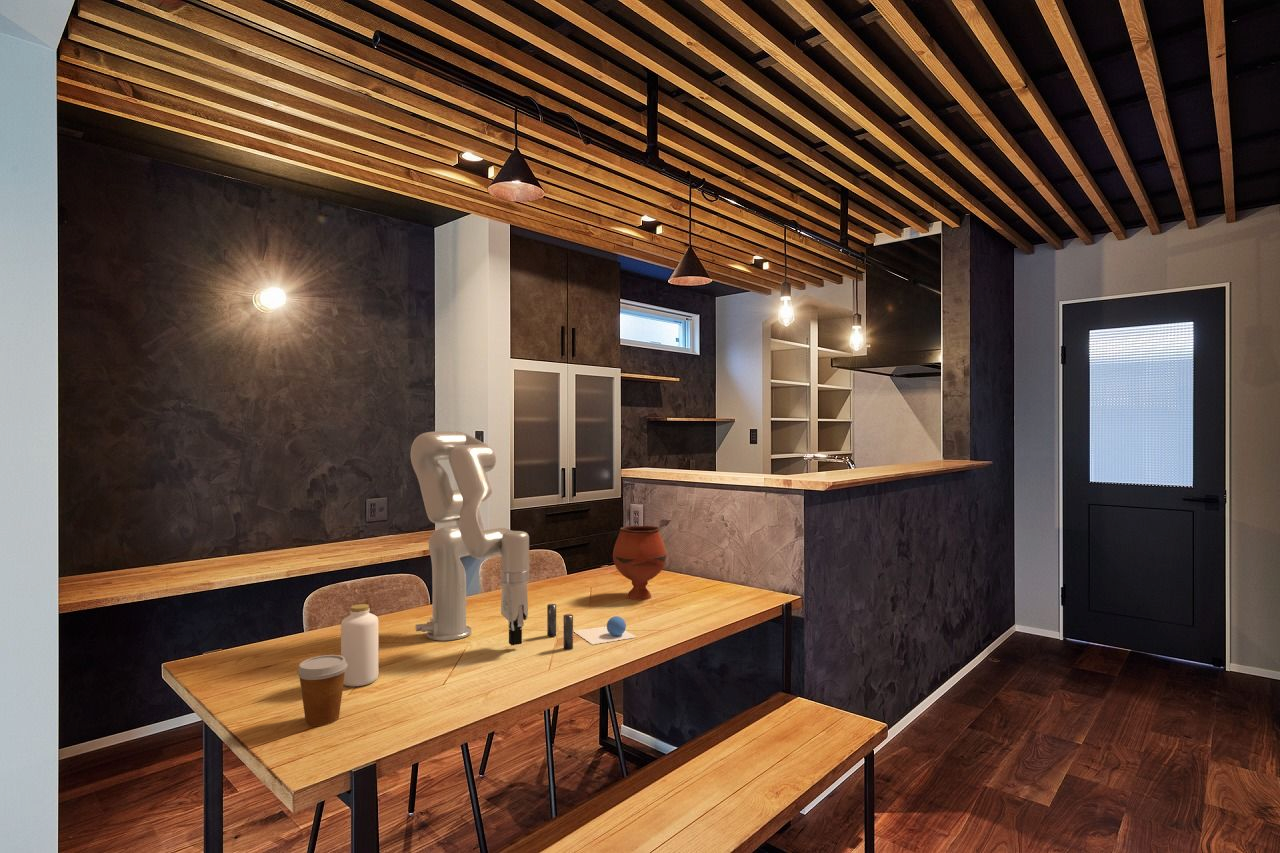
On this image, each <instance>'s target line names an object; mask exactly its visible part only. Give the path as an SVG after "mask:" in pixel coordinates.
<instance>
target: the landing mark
mask: <svg viewBox="0 0 1280 853" xmlns="http://www.w3.org/2000/svg"><path fill="white" fill-rule="evenodd" d="M574 632H575V633H574ZM573 633H574V634H576V635H577V634H578V635H579V636H578V635H577V636H578V637H580V638H581V637H582V639H583V640H584V639H585V640H584V641H586V642H587V641H588V642H587V643H589V645H592V646H595V644H596V645H601V644H600V643H602V644H608V643H614V642H619V641H618V640H620V641H624V640H623V639H626V640H631V639H630V638H632V639H636V638H638V637H637V636H636V635H634V634H632V633H630V632H629V631H627V630H626V629H625V631H624V633H623V634H622V635H620V636H613V635H611V634H610V633H609V632H608V630H607V625H605V627H604V626H597V627H592V628H591V629H590V628H584V629H578V630H573ZM613 641H614V642H613ZM607 642H608V643H607Z"/></svg>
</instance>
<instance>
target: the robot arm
mask: <svg viewBox="0 0 1280 853" xmlns="http://www.w3.org/2000/svg"><path fill="white" fill-rule="evenodd" d="M441 460H442V461H443V460H444V461H446V460H448V462H449V465H450V468H451V471H452V474H453V476H454V479H455V482H456V486H457V488H458V489H453V488H452V487H451V482H450V478H449V475H448V473H447V471H446V470H445V469H444V467H443V466H442V465H441V464H440V463H439V461H441ZM410 461H411V465H412V468H413V471H414V473H415V475H416V477H417V480H418V484H419V487H420V488H419V489H420V492H421V496H422V501H423V503H424V504H423V506H424V508H425V512H426V516H427V518H428V519H429V520H428V521H430V522H432V523H433V524H447V523H453V522H455V523H456V525H450V526H444V527H441V528H439V529H436V530H434V531H433V533H432V534H431V535H430V537H429V540H428V550H429V554H430V555H429V556H430V559H431V560H430V561H431V569H432V570H431V573H432V574H431V576H432V583H431V584H432V618H430V619H429V621H427V622H426V623H419V624H415V632H422V633H426V638H428V639H430V640H435V641H445V642H446V641H455V640H459V639H463V638H466V637H469V635H471V634H472V627H470V626H469V625H467V573H466V572H467V571H466V569H465V566H464V565H463V562H462V560H461V558H464V557H468V556H470V557H472V558H474V559H475V560H476V559H477V560H484V559H488V558H492V557H497V556H501V557H500V558H501V559H500V561H501V568H500V569H501V571H500V572H501V580H500V581H501V584H502V586H501V588H502V589H501V599H500V600H501V601H500V614H501V615H502V617H503V618H504V619H506V621H508V623H507V624H508V644H509V645H510V646H515V645H516V646H517V645H521V644H522V643H523V627H524V626H525V624H524V621H526V620H527V619H528V618H529V603H528V602H529V600H528V586H527V584H528V583H530V536H529V534H528V533H527V532H526V531H523V530H511V529H509V528H505V527H498V528H491V529H490V528H489V529H484V524H483V522H482V521H483V520H482V517H481V516H482V515H481V514H480V512H481V511H480V509H479V508H480V506H481V504H482V503H483V502H484V501H486V500H488V498H491V495H492V494H493V489H492V487H491V485H490V482H489V479H488V476H487V474H486V473H488V472H491V471H492V470H493V469H494V468H495V466H496V462H497V459H496V454H495V452H494V450H493V449H492V448H491V446H489V445H488V444H486V443H485V442H482V441H481V440H480V439H477V438H476V437H474V436H472V435H470V434H468V433H466V432H463V431H442V430H441V431H439V430H438V431H428V432H427V431H426V432H423V433H421V434H419V435H417V437H415V439H414V440H413V442H412V444H411V447H410Z"/></svg>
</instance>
